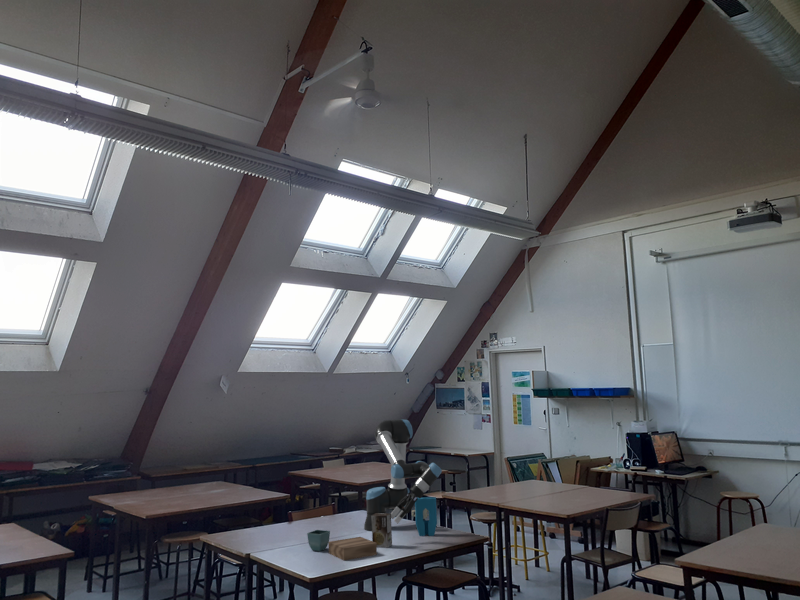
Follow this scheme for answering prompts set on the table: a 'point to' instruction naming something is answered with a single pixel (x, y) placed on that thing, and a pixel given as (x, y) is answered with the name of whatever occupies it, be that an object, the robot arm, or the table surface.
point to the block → (429, 525)
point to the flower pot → (318, 539)
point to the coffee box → (382, 529)
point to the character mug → (423, 514)
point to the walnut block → (352, 548)
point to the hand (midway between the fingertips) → (393, 519)
